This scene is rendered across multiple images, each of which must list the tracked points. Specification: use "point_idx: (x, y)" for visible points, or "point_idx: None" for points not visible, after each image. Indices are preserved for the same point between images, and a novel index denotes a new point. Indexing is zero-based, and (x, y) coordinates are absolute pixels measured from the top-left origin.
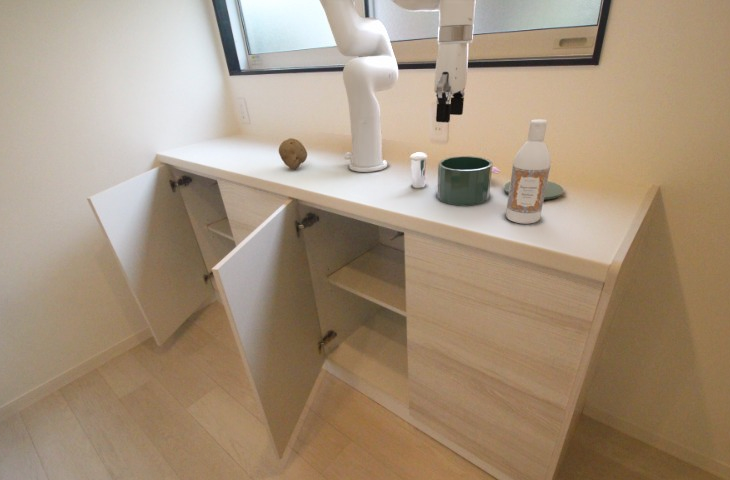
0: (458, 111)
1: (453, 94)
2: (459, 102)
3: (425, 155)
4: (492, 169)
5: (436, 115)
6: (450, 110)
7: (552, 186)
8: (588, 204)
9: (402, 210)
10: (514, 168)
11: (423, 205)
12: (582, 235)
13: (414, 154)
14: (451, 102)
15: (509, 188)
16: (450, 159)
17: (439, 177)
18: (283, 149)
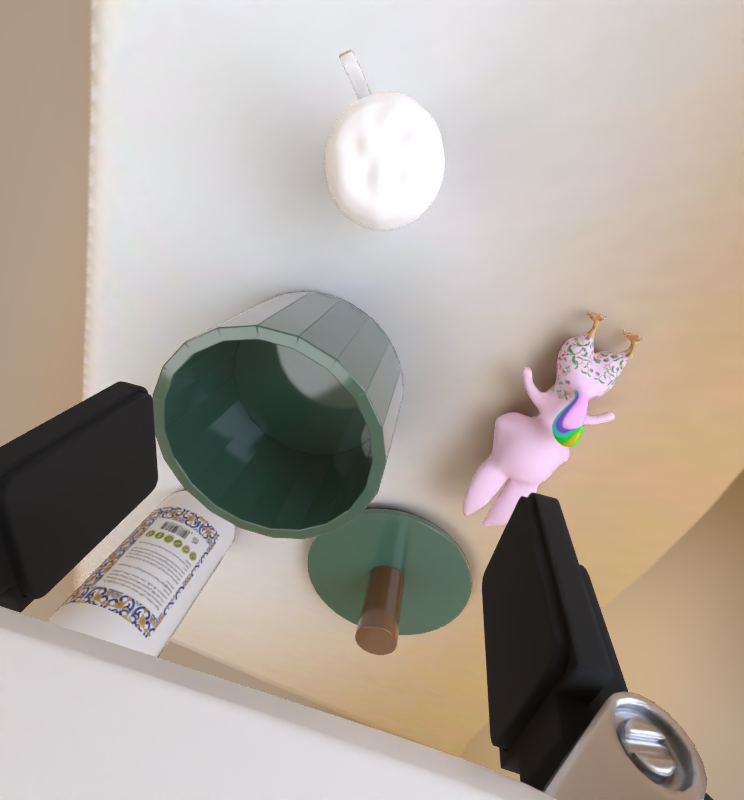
0: (495, 582)
1: (572, 746)
2: (499, 677)
3: (369, 220)
4: (498, 505)
5: (78, 405)
6: (526, 520)
7: (404, 619)
8: (324, 644)
9: (120, 176)
10: (73, 598)
11: (192, 251)
12: None
13: (362, 130)
14: (544, 604)
15: (370, 523)
16: (335, 375)
17: (223, 322)
18: None
